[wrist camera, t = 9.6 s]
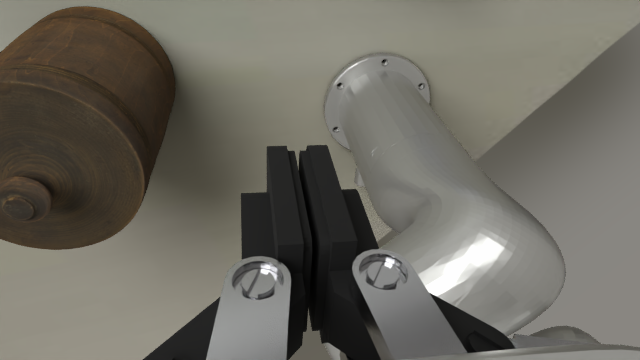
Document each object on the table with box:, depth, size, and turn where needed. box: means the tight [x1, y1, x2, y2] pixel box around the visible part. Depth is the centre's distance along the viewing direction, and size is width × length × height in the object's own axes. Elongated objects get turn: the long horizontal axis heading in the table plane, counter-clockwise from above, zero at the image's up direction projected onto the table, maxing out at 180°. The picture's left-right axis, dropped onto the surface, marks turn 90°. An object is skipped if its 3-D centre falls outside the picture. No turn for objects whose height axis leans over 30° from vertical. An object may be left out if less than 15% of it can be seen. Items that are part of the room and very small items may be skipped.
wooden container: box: [0, 7, 175, 250], centre depth 38 cm, size 15×15×22 cm
